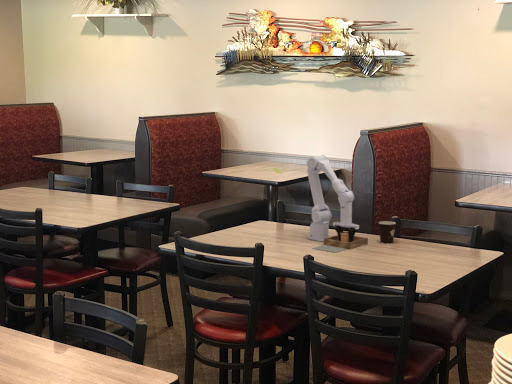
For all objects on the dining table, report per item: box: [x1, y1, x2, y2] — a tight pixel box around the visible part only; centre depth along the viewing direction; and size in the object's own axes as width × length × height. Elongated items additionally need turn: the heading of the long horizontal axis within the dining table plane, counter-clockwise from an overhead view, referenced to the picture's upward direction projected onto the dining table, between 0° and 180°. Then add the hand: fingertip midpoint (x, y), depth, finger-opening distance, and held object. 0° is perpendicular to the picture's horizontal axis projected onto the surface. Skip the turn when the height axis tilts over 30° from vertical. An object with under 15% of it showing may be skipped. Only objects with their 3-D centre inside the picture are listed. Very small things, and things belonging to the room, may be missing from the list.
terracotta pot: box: [340, 231, 349, 242], centre depth 345 cm, size 6×6×6 cm
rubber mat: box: [311, 244, 347, 254], centre depth 334 cm, size 14×9×1 cm, turn 48°
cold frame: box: [323, 234, 369, 250], centre depth 345 cm, size 16×16×3 cm
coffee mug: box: [378, 220, 398, 244], centre depth 349 cm, size 12×9×10 cm
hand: (345, 241), depth 345 cm, fingers closed on terracotta pot, 5 cm apart
